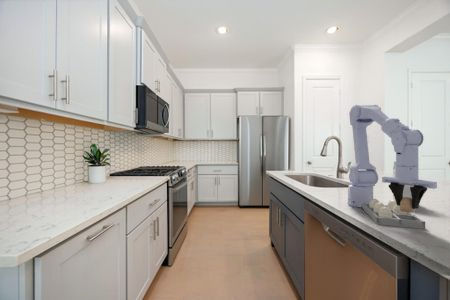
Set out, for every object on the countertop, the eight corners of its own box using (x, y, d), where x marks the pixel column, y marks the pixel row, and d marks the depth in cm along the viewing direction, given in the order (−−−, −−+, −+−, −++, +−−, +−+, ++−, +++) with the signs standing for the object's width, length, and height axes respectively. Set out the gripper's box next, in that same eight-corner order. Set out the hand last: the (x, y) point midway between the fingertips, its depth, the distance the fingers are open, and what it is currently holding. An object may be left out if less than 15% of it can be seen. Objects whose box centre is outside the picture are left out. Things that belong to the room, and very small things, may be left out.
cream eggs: (380, 221, 73) (380, 207, 73) (368, 209, 88) (368, 197, 88) (417, 225, 70) (417, 210, 70) (397, 211, 85) (397, 199, 84)
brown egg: (410, 213, 69) (410, 198, 69) (397, 210, 73) (397, 196, 73) (417, 211, 71) (417, 197, 71) (403, 208, 75) (403, 195, 74)
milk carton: (416, 206, 93) (415, 162, 93) (395, 204, 97) (395, 161, 97) (412, 202, 99) (412, 161, 99) (393, 200, 103) (393, 161, 103)
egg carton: (376, 223, 72) (376, 217, 72) (362, 208, 90) (362, 203, 90) (425, 228, 68) (425, 221, 68) (400, 211, 85) (400, 206, 85)
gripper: (441, 167, 67) (442, 210, 67) (390, 164, 80) (390, 200, 80) (429, 168, 64) (430, 213, 64) (378, 165, 77) (378, 202, 77)
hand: (407, 206), depth 72 cm, fingers closed on brown egg, 4 cm apart
